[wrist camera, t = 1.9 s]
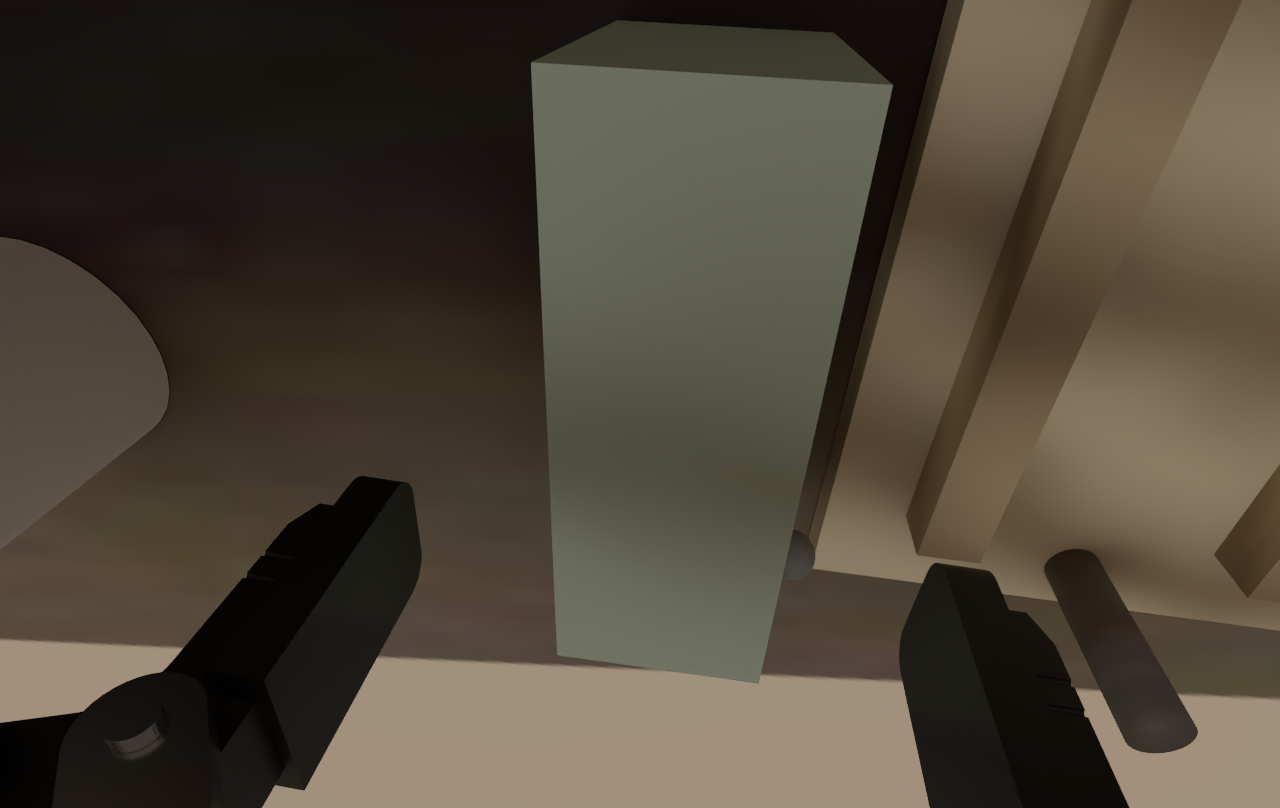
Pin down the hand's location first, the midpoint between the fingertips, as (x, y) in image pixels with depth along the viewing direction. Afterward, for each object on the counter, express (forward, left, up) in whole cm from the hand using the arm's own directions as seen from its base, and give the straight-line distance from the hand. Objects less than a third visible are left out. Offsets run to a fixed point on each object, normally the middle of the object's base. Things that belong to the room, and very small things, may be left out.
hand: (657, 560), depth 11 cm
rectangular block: (-1, 0, -9) cm, 9 cm away
